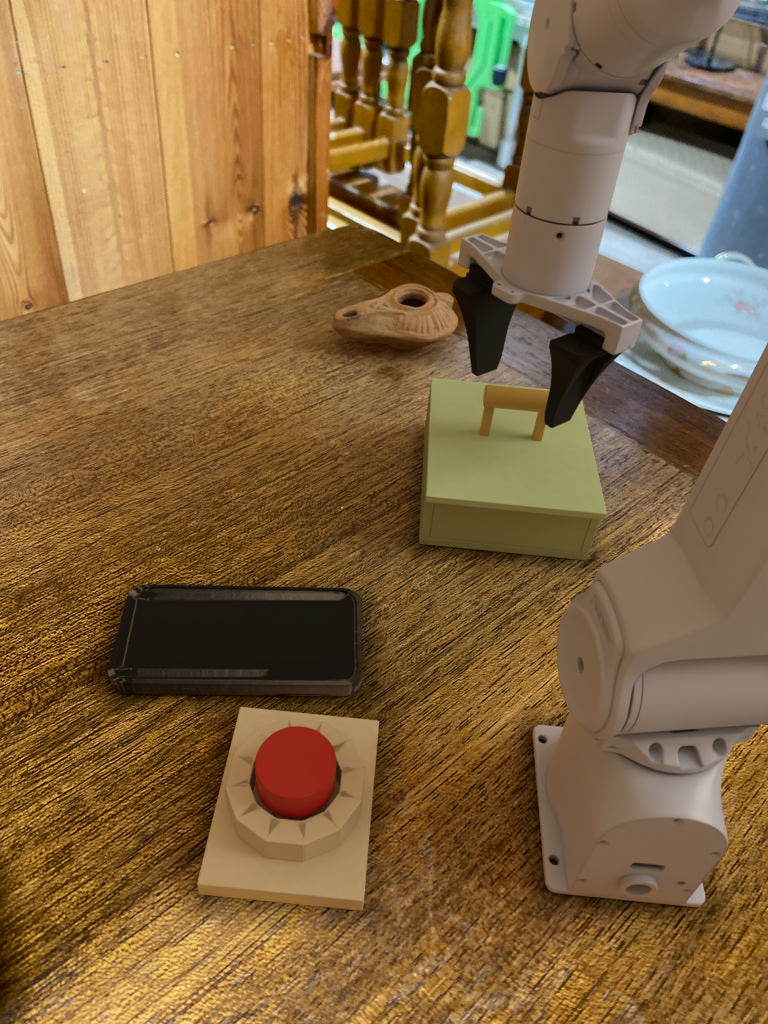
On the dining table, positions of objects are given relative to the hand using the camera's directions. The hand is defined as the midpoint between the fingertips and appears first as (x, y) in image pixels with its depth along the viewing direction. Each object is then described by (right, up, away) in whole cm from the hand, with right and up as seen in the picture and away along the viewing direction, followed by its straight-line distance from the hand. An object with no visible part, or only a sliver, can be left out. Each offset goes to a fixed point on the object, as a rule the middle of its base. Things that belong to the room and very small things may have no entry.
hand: (519, 395), depth 57 cm
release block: (-14, -24, -15) cm, 32 cm away
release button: (-14, -22, -17) cm, 31 cm away
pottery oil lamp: (-9, +9, +23) cm, 26 cm away
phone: (-19, -17, -7) cm, 26 cm away
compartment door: (0, -3, +2) cm, 4 cm away
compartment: (-1, -7, +6) cm, 9 cm away
